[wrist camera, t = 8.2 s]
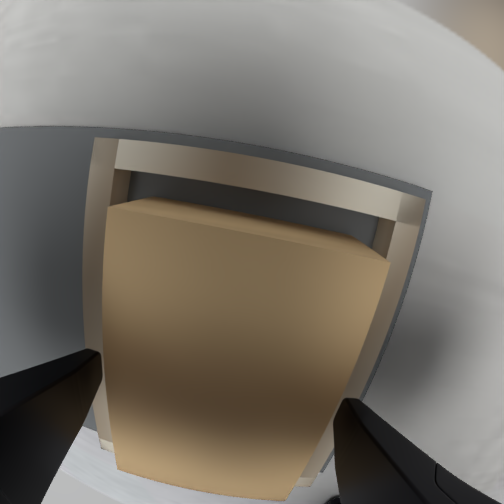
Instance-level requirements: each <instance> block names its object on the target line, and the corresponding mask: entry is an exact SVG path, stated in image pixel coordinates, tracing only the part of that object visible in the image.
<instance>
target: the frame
mask: <svg viewBox="0 0 504 504" xmlns="http://www.w3.org/2000/svg"><path fill="white" fill-rule="evenodd" d="M131 170H132V171H140V172H148V173H155V174H162V175H169V176H176V177H183V178H189V179H196V180H202V181H208V182H214V183H220V184H226V185H232V186H237V187H243V188H249V189H254V190H259V191H264V192H270V193H275V194H280V195H285V196H290V197H295V198H299V199H304V200H309V201H313V202H318V203H323V204H327V205H332V206H336V207H340V208H345V209H349V210H353V211H357V212H362V213H366V214H370V215H374V216H378V217H379V221H378V225H377V230H376V234H375V238H374V242H373V246H372V250H374V251H375V252H376V253H378V254H379V255H381V256H382V257H384V258H385V259H386V260H388V261H389V262H391V264H390V267H389V270H388V274H387V277H386V280H385V283H384V287H383V290H382V293H381V296H380V299H379V302H378V305H377V308H376V311H375V314H374V317H373V319H372V322H371V325H370V328H369V330H368V333H367V336H366V338H365V341H364V344H363V346H362V349H361V351H360V354H359V356H358V359H357V361H356V364H355V366H354V369H353V371H352V373H351V376H350V378H349V380H348V383H347V385H346V387H345V390H344V392H343V394H342V396H341V398H340V401H339V403H338V405H337V407H336V409H335V411H334V413H333V415H332V417H331V419H330V422H329V424H328V426H327V428H326V430H325V432H324V433H323V435H322V437H321V439H320V441H319V443H318V445H317V447H316V449H315V451H314V452H313V454H312V456H311V458H310V460H309V462H308V463H307V465H306V467H305V469H304V470H303V472H302V474H301V476H300V477H299V479H298V481H297V482H296V484H295V486H294V487H310V486H311V484H312V483H313V481H314V480H315V478H316V477H317V475H318V473H319V472H320V470H321V468H322V467H323V465H324V463H325V462H326V460H327V458H328V457H329V455H330V453H331V451H332V450H333V448H334V435H333V420H334V417H335V415H336V413H337V410H338V408H339V406H340V404H341V402H342V400H343V399H344V398H358V399H359V398H360V396H361V393H362V391H363V389H364V387H365V385H366V383H367V380H368V378H369V376H370V374H371V371H372V369H373V367H374V364H375V362H376V360H377V357H378V355H379V352H380V350H381V347H382V345H383V342H384V340H385V337H386V335H387V332H388V329H389V327H390V324H391V321H392V318H393V316H394V313H395V310H396V307H397V304H398V301H399V298H400V295H401V292H402V289H403V286H404V282H405V279H406V276H407V273H408V269H409V266H410V262H411V259H412V255H413V252H414V248H415V244H416V240H417V236H418V232H419V228H420V224H421V220H422V215H423V211H424V206H425V201H426V199H423V198H420V197H417V196H413V195H410V194H407V193H404V192H400V191H397V190H393V189H390V188H386V187H383V186H379V185H376V184H372V183H369V182H365V181H361V180H357V179H353V178H350V177H346V176H342V175H338V174H334V173H329V172H325V171H321V170H317V169H312V168H308V167H303V166H299V165H294V164H289V163H284V162H279V161H274V160H269V159H264V158H259V157H253V156H248V155H242V154H236V153H230V152H224V151H218V150H211V149H204V148H197V147H190V146H182V145H174V144H166V143H157V142H148V141H137V140H126V139H114V138H99V137H95V139H94V144H93V151H92V157H91V164H90V171H89V179H88V187H87V197H86V207H85V220H84V236H83V265H82V291H83V320H84V336H85V349H86V348H89V349H93V350H96V351H98V352H100V354H101V357H102V370H103V378H102V382H101V384H100V386H99V389H98V391H97V393H96V396H95V398H94V400H93V403H92V404H93V410H94V416H95V421H96V426H97V431H98V436H99V441H100V445H101V449H104V450H107V451H109V452H112V453H114V447H113V441H112V435H111V428H110V421H109V413H108V405H107V396H106V385H105V373H104V358H103V334H102V281H103V258H104V242H105V229H106V219H107V209H108V207H109V206H113V205H118V204H122V203H126V202H127V198H128V190H129V183H130V176H131Z"/></svg>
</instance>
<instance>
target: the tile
mask: <svg viewBox="0 0 504 504" xmlns="http://www.w3.org/2000/svg"><path fill="white" fill-rule="evenodd" d="M390 264H391V262H389V261H388V260H386V259H385V258H384V257H382V256H381V255H379V254H378V253H376V252H375V251H374V250H372V249H371V248H369V247H368V246H366V245H365V244H363V243H362V242H361V241H359V240H358V239H356V238H355V237H353V236H352V235H347V234H343V233H338V232H334V231H329V230H325V229H320V228H316V227H311V226H306V225H302V224H297V223H292V222H287V221H282V220H278V219H273V218H268V217H263V216H258V215H253V214H248V213H243V212H237V211H232V210H227V209H222V208H216V207H211V206H205V205H200V204H194V203H189V202H183V201H177V200H172V199H166V198H160V197H154V196H153V197H148V198H144V199H139V200H135V201H130V202H126V203H122V204H118V205H113V206H109V207H108V209H107V219H106V229H105V242H104V258H103V281H102V334H103V358H104V373H105V385H106V396H107V405H108V413H109V421H110V428H111V435H112V441H113V447H114V453H115V459H116V464H117V469H118V470H121V471H124V472H127V473H130V474H133V475H137V476H140V477H143V478H147V479H150V480H154V481H158V482H161V483H165V484H169V485H173V486H178V487H182V488H187V489H191V490H196V491H202V492H207V493H213V494H219V495H226V496H233V497H241V498H250V499H261V500H275V501H285V500H286V499H287V497H288V495H289V494H290V492H291V491H292V489H293V487H294V486H295V484H296V482H297V481H298V479H299V477H300V476H301V474H302V472H303V470H304V469H305V467H306V465H307V463H308V462H309V460H310V458H311V456H312V454H313V452H314V451H315V449H316V447H317V445H318V443H319V441H320V439H321V437H322V435H323V433H324V432H325V430H326V428H327V426H328V424H329V422H330V419H331V417H332V415H333V413H334V411H335V409H336V407H337V405H338V403H339V401H340V398H341V396H342V394H343V392H344V390H345V387H346V385H347V383H348V380H349V378H350V376H351V373H352V371H353V369H354V366H355V364H356V361H357V359H358V356H359V354H360V351H361V349H362V346H363V344H364V341H365V338H366V336H367V333H368V330H369V328H370V325H371V322H372V319H373V317H374V314H375V311H376V308H377V305H378V302H379V299H380V296H381V293H382V290H383V287H384V283H385V280H386V277H387V274H388V270H389V267H390Z"/></svg>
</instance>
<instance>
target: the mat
mask: <svg viewBox="0 0 504 504" xmlns="http://www.w3.org/2000/svg"><path fill="white" fill-rule="evenodd" d="M95 137H99V138H114V139H126V140H137V141H148V142H157V143H166V144H174V145H182V146H190V147H197V148H204V149H211V150H218V151H224V152H230V153H236V154H242V155H248V156H253V157H259V158H264V159H269V160H274V161H279V162H284V163H289V164H294V165H299V166H303V167H308V168H312V169H317V170H321V171H325V172H329V173H334V174H338V175H342V176H346V177H350V178H353V179H357V180H361V181H365V182H369V183H372V184H376V185H379V186H383V187H386V188H390V189H393V190H397V191H400V192H404V193H407V194H410V195H413V196H417V197H420V198H423V199H426V201H425V206H424V211H423V215H422V220H421V224H420V228H419V232H418V236H417V240H416V244H415V248H414V252H413V255H412V259H411V262H410V266H409V269H408V273H407V276H406V279H405V282H404V286H403V289H402V292H401V295H400V298H399V301H398V304H397V307H396V310H395V313H394V316H393V318H392V321H391V324H390V327H389V329H388V332H387V335H386V337H385V340H384V342H383V345H382V347H381V350H380V352H379V355H378V357H377V360H376V362H375V364H374V367H373V369H372V371H371V374H370V376H369V378H368V380H367V383H366V385H365V387H364V389H363V391H362V393H361V396H360V398H359V400H360V401H362V400H363V398H364V396H365V394H366V392H367V390H368V388H369V386H370V383H371V381H372V379H373V377H374V375H375V372H376V370H377V368H378V365H379V363H380V361H381V358H382V356H383V354H384V351H385V349H386V346H387V344H388V341H389V339H390V336H391V334H392V331H393V328H394V326H395V323H396V320H397V317H398V315H399V312H400V309H401V306H402V303H403V300H404V297H405V294H406V291H407V288H408V285H409V282H410V278H411V275H412V272H413V268H414V265H415V262H416V258H417V254H418V251H419V247H420V243H421V239H422V235H423V231H424V227H425V223H426V219H427V214H428V210H429V205H430V200H431V195H432V191H430V190H428V189H425V188H422V187H419V186H415V185H412V184H409V183H406V182H403V181H400V180H396V179H393V178H390V177H386V176H383V175H380V174H376V173H373V172H369V171H366V170H362V169H358V168H354V167H351V166H347V165H343V164H339V163H335V162H331V161H327V160H323V159H318V158H314V157H310V156H305V155H301V154H296V153H292V152H287V151H282V150H277V149H272V148H267V147H261V146H256V145H250V144H245V143H239V142H233V141H226V140H220V139H213V138H206V137H199V136H191V135H183V134H175V133H165V132H156V131H145V130H133V129H118V128H101V127H71V126H34V127H6V128H0V377H3V376H6V375H9V374H13V373H16V372H19V371H22V370H25V369H28V368H31V367H34V366H37V365H40V364H43V363H46V362H49V361H52V360H55V359H58V358H60V357H63V356H66V355H69V354H72V353H75V352H78V351H81V350H83V349H85V336H84V320H83V291H82V265H83V236H84V220H85V207H86V197H87V187H88V179H89V171H90V164H91V157H92V151H93V144H94V139H95ZM153 196H154V197H160V198H166V199H172V200H177V201H183V202H189V203H194V204H200V205H205V206H211V207H216V208H222V209H227V210H232V211H237V212H243V213H248V214H253V215H258V216H263V217H268V218H273V219H278V220H282V221H287V222H292V223H297V224H302V225H306V226H311V227H316V228H320V229H325V230H329V231H334V232H338V233H343V234H347V235H352V236H353V237H355V238H356V239H358V240H359V241H361V242H362V243H363V244H365V245H366V246H368V247H369V248H371V249H372V246H373V242H374V238H375V234H376V230H377V225H378V221H379V217H378V216H374V215H370V214H366V213H362V212H357V211H353V210H349V209H345V208H340V207H336V206H332V205H327V204H323V203H318V202H313V201H309V200H304V199H299V198H295V197H290V196H285V195H280V194H275V193H270V192H264V191H259V190H254V189H249V188H243V187H237V186H232V185H226V184H220V183H214V182H208V181H202V180H196V179H189V178H183V177H176V176H169V175H162V174H155V173H148V172H140V171H132V170H131V176H130V183H129V190H128V198H127V202H130V201H135V200H139V199H144V198H148V197H153ZM82 426H84V427H87V428H89V429H92V430H94V431H97V426H96V421H95V416H94V410H93V404H92V405H91V408H90V410H89V412H88V415H87V417H86V419H85V421H84V423H83V425H82ZM97 432H98V431H97ZM333 455H334V448H333V450H332V451H331V453H330V455H329V457H328V458H327V460H326V462H325V463H324V465H323V467H322V468H321V470H320V472H323V471H324V470H325V468H326V466H327V465H328V463H329V461H330V460H331V458H332V456H333Z"/></svg>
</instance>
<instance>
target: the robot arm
mask: <svg viewBox="0 0 504 504" xmlns="http://www.w3.org/2000/svg"><path fill="white" fill-rule="evenodd" d="M102 378H103V370H102V357H101V354H100V352H98V351H96V350H93V349H89V348H86V349H83V350H81V351H78V352H75V353H72V354H69V355H66V356H63V357H60V358H58V359H55V360H52V361H49V362H46V363H43V364H40V365H37V366H34V367H31V368H28V369H25V370H22V371H19V372H16V373H13V374H9V375H6V376H3V377H0V504H41V502H42V500H43V498H44V496H45V494H46V492H47V490H48V488H49V486H50V484H51V482H52V480H53V478H54V476H55V475H56V473H57V471H58V469H59V467H60V465H61V463H62V461H63V460H64V458H65V456H66V454H67V452H68V450H69V449H70V447H71V445H72V443H73V441H74V439H75V438H76V436H77V434H78V432H79V431H80V429H81V427H82V425H83V423H84V421H85V419H86V417H87V415H88V412H89V410H90V408H91V405H92V403H93V400H94V398H95V396H96V393H97V391H98V389H99V386H100V384H101V382H102ZM333 435H334V456H335V469H336V476H337V482H338V488H339V494H340V498H335V499H332V500H330V501H329V502H328V503H327V504H501V503H499V502H497V501H496V500H494V499H492V498H490V497H489V496H487V495H485V494H483V493H482V492H480V491H478V490H476V489H475V488H473V487H471V486H470V485H468V484H467V483H465V482H463V481H462V480H460V479H459V478H457V477H456V476H454V475H453V474H452V473H450V472H449V471H448V470H446V469H445V468H444V467H442V466H441V465H440V464H438V463H436V461H434V460H433V459H432V458H431V457H429V456H428V455H427V454H425V453H424V452H423V451H422V450H420V449H419V448H418V447H417V446H415V445H414V444H413V443H412V442H410V441H409V440H408V439H407V438H405V437H404V436H403V435H402V434H400V433H399V432H398V431H397V430H395V429H394V428H393V427H392V426H391V425H389V424H388V423H387V422H386V421H384V420H383V419H382V418H381V417H380V416H378V415H377V414H376V413H375V412H374V411H372V410H371V409H370V408H369V407H368V406H366V405H365V404H364V403H363V402H362V401H360V400H359V399H358V398H344V399H343V400H342V402H341V404H340V406H339V408H338V410H337V413H336V415H335V417H334V420H333Z"/></svg>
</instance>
